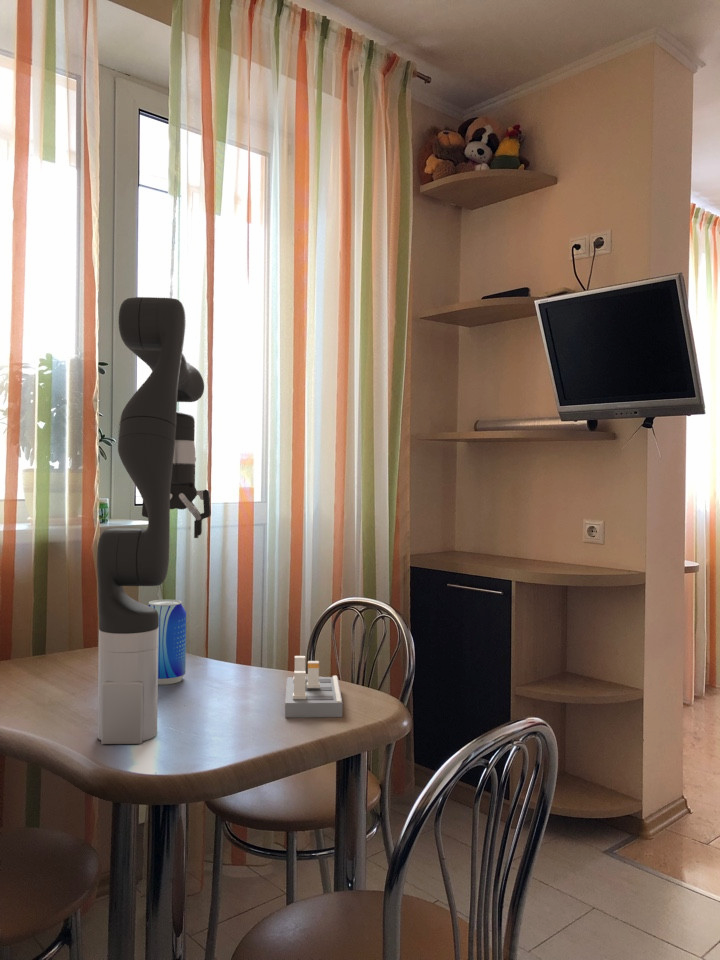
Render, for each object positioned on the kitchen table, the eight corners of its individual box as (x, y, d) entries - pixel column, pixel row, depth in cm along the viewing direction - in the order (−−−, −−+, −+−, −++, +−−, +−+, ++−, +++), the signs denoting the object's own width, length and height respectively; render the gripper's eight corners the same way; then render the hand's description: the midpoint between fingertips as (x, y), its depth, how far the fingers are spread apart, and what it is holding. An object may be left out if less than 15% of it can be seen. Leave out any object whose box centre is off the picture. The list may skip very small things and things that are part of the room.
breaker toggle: (319, 687, 149) (320, 663, 149) (306, 688, 149) (307, 663, 149) (319, 685, 151) (319, 660, 151) (306, 685, 151) (306, 660, 151)
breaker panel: (342, 716, 141) (342, 675, 141) (284, 717, 141) (285, 676, 141) (337, 689, 159) (338, 653, 159) (286, 690, 159) (287, 653, 158)
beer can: (179, 686, 160) (180, 605, 160) (137, 685, 161) (138, 604, 160) (189, 675, 169) (190, 599, 169) (149, 674, 169) (150, 598, 169)
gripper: (140, 461, 169) (139, 538, 169) (209, 462, 170) (208, 539, 170) (146, 462, 176) (145, 536, 176) (212, 463, 178) (211, 536, 177)
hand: (176, 537), depth 173 cm, fingers open, 8 cm apart
